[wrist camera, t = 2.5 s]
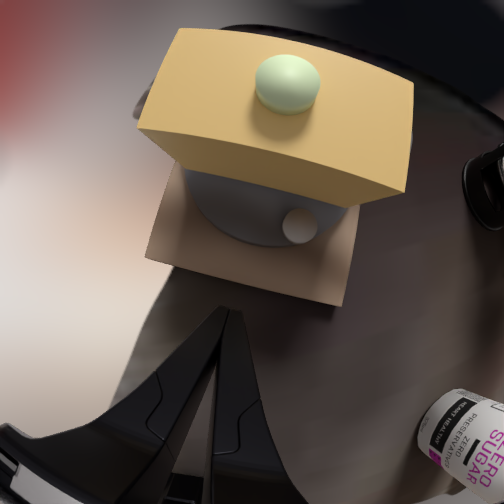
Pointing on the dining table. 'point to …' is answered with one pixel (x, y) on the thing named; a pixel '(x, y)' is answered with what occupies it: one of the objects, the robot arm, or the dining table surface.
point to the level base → (249, 262)
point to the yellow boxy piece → (281, 116)
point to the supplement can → (467, 441)
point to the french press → (500, 168)
